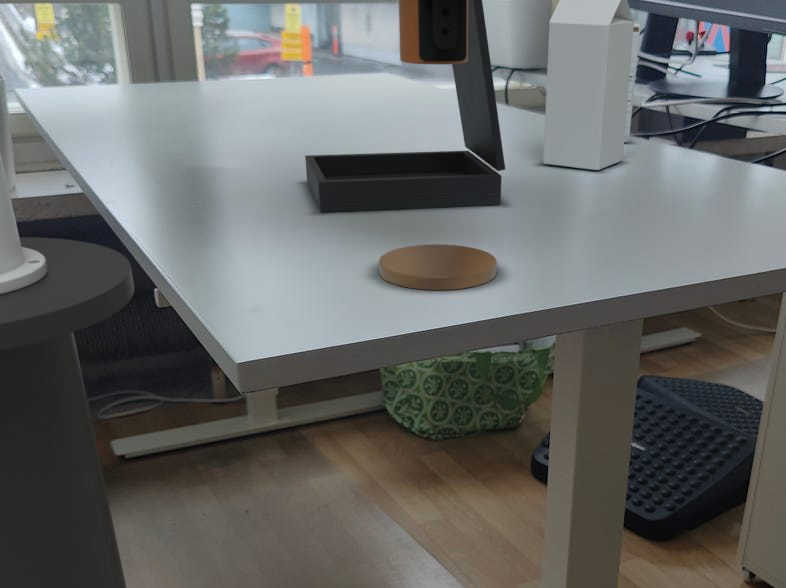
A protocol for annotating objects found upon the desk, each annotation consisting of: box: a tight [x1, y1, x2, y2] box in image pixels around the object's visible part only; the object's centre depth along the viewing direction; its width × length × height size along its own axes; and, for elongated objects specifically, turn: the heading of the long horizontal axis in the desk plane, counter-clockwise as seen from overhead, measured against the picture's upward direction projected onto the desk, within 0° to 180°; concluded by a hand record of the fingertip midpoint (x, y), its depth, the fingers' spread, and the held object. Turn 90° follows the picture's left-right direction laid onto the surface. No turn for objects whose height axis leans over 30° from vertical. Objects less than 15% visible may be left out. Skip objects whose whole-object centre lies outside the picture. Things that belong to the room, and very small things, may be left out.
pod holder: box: [304, 150, 502, 213], centre depth 97 cm, size 18×14×3 cm
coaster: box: [378, 243, 498, 291], centre depth 73 cm, size 9×9×1 cm
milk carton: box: [542, 0, 635, 171], centre depth 108 cm, size 7×7×19 cm
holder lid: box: [451, 0, 506, 172], centre depth 93 cm, size 18×14×1 cm
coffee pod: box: [398, 0, 468, 65], centre depth 67 cm, size 6×6×5 cm
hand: (433, 53), depth 68 cm, fingers closed on coffee pod, 5 cm apart
